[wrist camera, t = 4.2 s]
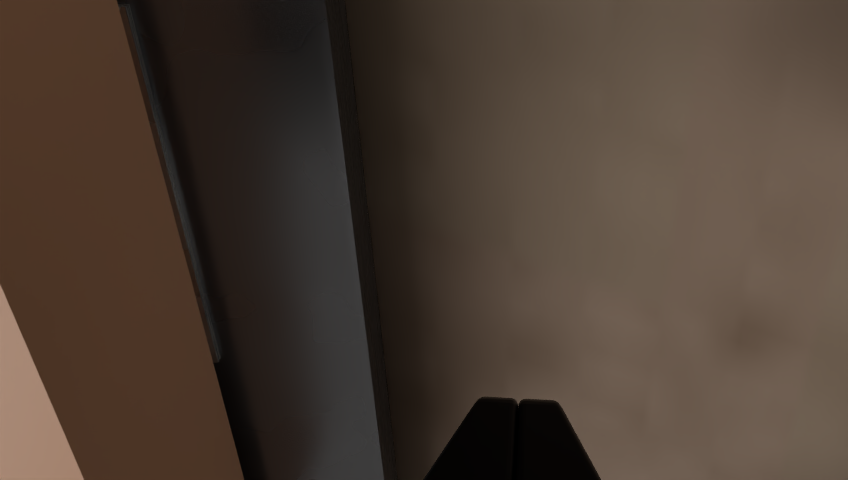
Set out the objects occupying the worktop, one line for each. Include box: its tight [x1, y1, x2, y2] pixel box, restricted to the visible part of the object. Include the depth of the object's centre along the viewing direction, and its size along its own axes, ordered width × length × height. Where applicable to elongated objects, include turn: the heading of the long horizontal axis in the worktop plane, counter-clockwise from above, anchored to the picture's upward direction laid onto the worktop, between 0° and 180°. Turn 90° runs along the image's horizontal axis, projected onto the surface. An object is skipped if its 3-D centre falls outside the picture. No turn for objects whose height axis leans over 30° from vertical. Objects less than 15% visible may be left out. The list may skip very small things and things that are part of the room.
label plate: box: [117, 0, 397, 480], centre depth 13 cm, size 10×13×1 cm
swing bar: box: [0, 0, 244, 480], centre depth 13 cm, size 16×5×5 cm, turn 3°
